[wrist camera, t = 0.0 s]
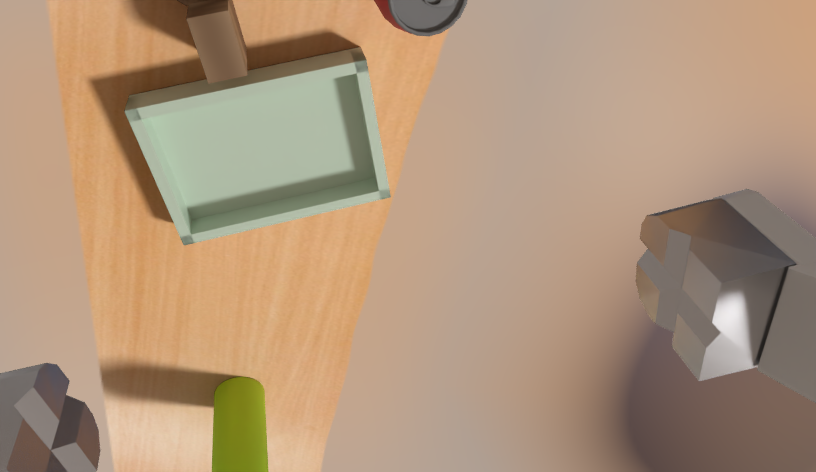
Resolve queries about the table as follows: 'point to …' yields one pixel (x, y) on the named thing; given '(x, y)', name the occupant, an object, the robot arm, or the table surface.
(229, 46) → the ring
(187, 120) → the tray
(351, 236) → the table surface
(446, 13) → the beer can
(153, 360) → the table surface
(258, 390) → the soap dispenser
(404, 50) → the table surface
